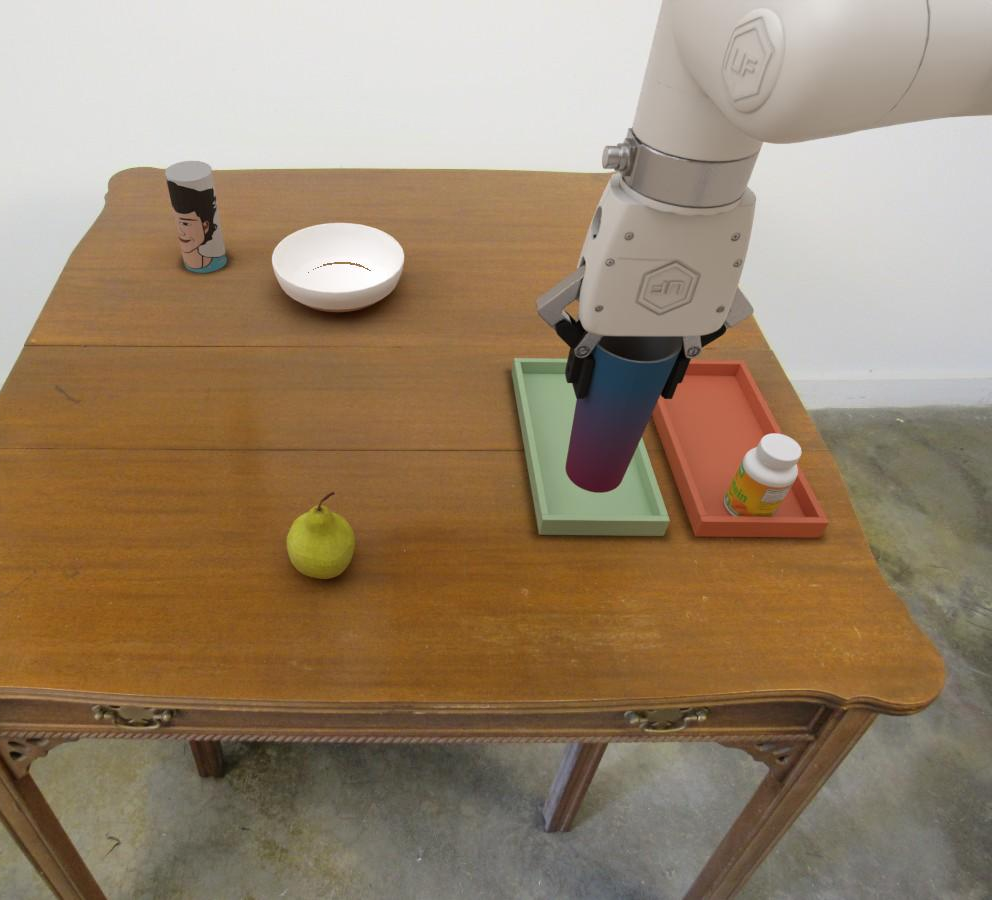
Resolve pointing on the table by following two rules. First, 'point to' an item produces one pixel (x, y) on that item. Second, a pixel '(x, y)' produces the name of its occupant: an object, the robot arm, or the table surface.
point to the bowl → (338, 266)
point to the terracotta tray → (726, 452)
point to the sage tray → (546, 447)
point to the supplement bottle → (764, 477)
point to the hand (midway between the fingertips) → (620, 385)
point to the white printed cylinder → (196, 215)
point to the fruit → (320, 543)
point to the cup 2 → (617, 407)
